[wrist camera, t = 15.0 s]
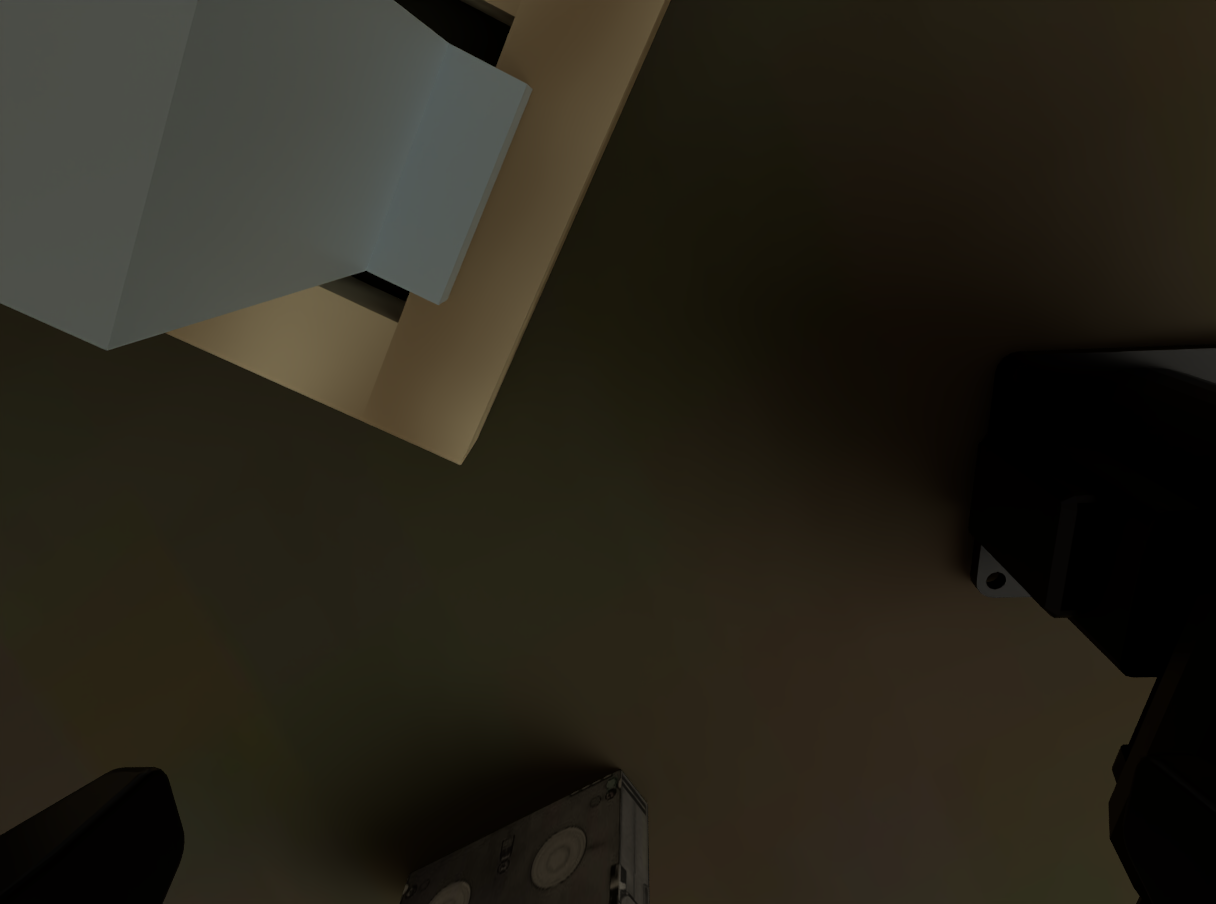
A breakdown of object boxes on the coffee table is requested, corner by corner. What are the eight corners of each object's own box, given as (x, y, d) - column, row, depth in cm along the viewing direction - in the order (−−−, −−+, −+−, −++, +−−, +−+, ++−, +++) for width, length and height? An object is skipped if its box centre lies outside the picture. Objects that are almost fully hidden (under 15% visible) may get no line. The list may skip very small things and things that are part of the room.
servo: (544, 100, 17) (366, -72, 6) (467, 287, 18) (203, 446, 7) (147, -106, 16) (-1033, -817, 5) (97, 109, 17) (-899, -37, 6)
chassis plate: (682, -28, 16) (689, -57, 14) (477, 438, 20) (460, 465, 18) (103, -344, 15) (25, -422, 13) (-5, 220, 18) (-78, 224, 16)
